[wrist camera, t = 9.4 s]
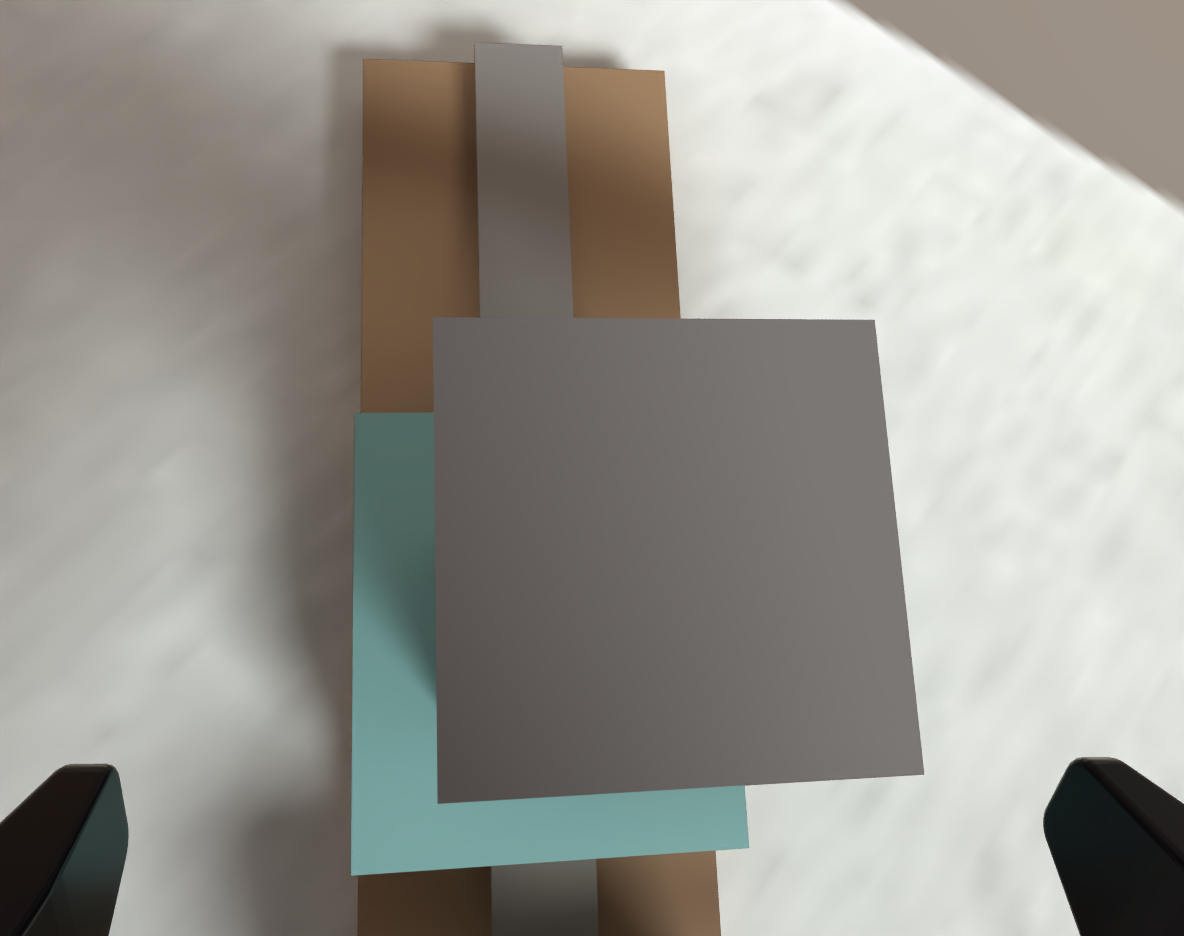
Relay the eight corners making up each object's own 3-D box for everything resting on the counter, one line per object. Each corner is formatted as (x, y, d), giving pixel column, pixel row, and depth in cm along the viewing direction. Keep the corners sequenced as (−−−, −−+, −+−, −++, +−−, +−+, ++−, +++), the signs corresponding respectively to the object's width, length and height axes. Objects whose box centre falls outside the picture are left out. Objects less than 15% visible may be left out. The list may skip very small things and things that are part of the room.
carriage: (716, 829, 17) (1198, 1106, 6) (364, 852, 16) (148, 1225, 5) (690, 438, 18) (1036, 69, 7) (366, 442, 18) (202, 33, 7)
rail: (716, 1167, 18) (834, 1389, 12) (364, 1207, 17) (315, 1466, 12) (650, 109, 23) (715, -83, 17) (369, 100, 22) (337, -106, 16)
